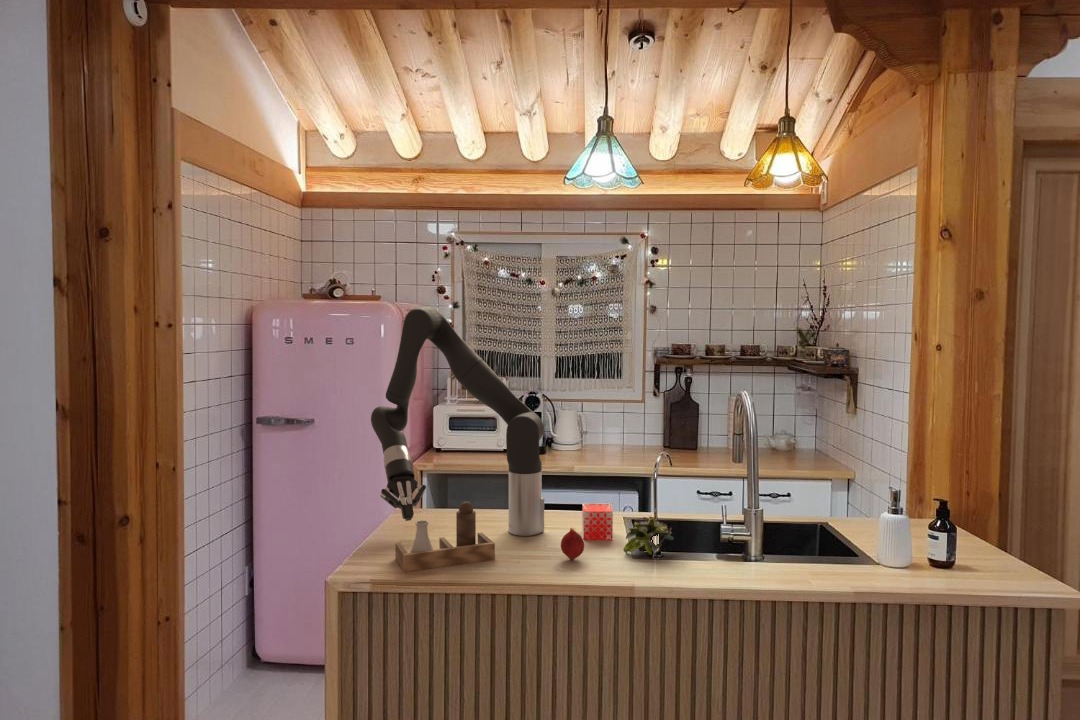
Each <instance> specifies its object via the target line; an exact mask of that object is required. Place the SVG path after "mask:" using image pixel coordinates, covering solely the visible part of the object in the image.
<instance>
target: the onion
mask: <svg viewBox="0 0 1080 720" xmlns="http://www.w3.org/2000/svg"><path fill="white" fill-rule="evenodd" d="M584 541H585V540H583V536H581V535H580V533H579V532H577V531H576V530H575V529H574V528H573V527H570V529H569V531H567V533H566V534H564V535H563V537H562V539H561V542H560V550H561V552H562V553H563V554H564V555H565V556H566V557H567V558H568V559H569V560H571V561H574V560H575V559H576V558H579V557H580V556H581V555H582V554H583V553H584V550H585V542H584Z"/></svg>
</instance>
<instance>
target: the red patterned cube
mask: <svg viewBox="0 0 1080 720" xmlns="http://www.w3.org/2000/svg"><path fill="white" fill-rule="evenodd" d="M581 509H582V518H581V519H582V520H581V522H582V523H581V524H582V527H581V530H582V539H583V541H613V536H614V534H613V533H614V531H613V530H614V529H613V528H614V527H613V526H614V525H613V524H614V521H613V520H614V512H613V507H612V505H611V503H582V508H581Z"/></svg>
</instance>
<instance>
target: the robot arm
mask: <svg viewBox="0 0 1080 720" xmlns="http://www.w3.org/2000/svg"><path fill="white" fill-rule="evenodd" d="M401 329H402V330H401V337H400V342H399V348H398V352H397V356H396V361H395V364H394V368H393V370H392V371H393V372H392V374H391V376H390V381H389V383H388V386H387V388H386V392H385V399H386V400H387V401H388V402H390V403H392V404H394V405H396V407H391V406H390V407H389V406H377V407H375V408H374V409H373V410H372V412H371V415H370V424H371V427H372V428H373V431H374V433H375V435H376V436H377V438H378V441H379V442H380V444H381V448H382V454H383V463H384V470H385V474H386V475H385V476H386V481H387V484H386V488H382V489H381V491H380V495H379V497H380V498H382V499H383V500H384V501H385V502H386V503H387V504H389V505H390V506H391V507H392V508H394V509H397V508H398V509H400V510H401V517H402V519H403V520H404V521H405V522H408V521H412V519H413V517H414V514H415V513H414V509H413V508H414V507H416V506H418V503H419V502H420V500H421V499H422V497H423V495H424V494H425V493H426V489H427V486H426V484H423V485H421V484H419V483H418V480H417V478H416V476H415V472H414V468H413V463H412V458H411V454H410V451H409V448H408V447H409V446H408V444H407V443H408V442H407V439H406V436H405V434H404V433H403V432H402V431H403V430H404V429H405V428H406V427H407V424H408V418H409V416H408V415H409V414H408V413H409V403H410V398H411V395H412V392H413V390H414V386H415V383H416V380H417V373H418V370H417V369H418V359H419V355H420V353H421V349H422V348H423V345H424V343H425V342H426V340H429V341H430V342H431V343H432V344H434V345H435V347H437V348H438V349H439V351H440V352H441V353H442V354H443V356H444V358H445V359H446V361H447V364H448V365H449V368H450V370H451V373H452V375H453V376H454V378H455V380H456V381H458V383H459V384H460V385H461V386H462V387H463V388H464V389H465V390H466V391H467V392H468V393H469V394H470V395H471V396H472V397H473V398H475V399H476V400H477V401H479V402H480V403H482V404H483V405H485V406H486V407H489V408H490V409H491V410H493V411H494V412H495V413H496V414H498V416H499V417H500V418H501V419H502V420H503V421H504V423H505V424H506V425H507V427H506V435H505V437H506V438H505V439H506V440H505V441H506V444H505V445H506V447H505V448H506V449H505V450H506V461H507V464H508V532H509V533H510V534H512V535H514V536H522V537H526V536H527V537H528V536H529V537H530V536H536V535H539V534H541V533H544V532H545V498H544V497H543V496H542V493H543V492H542V491H543V490H542V488H543V487H542V481H543V480H542V479H543V478H542V475H543V474H542V473H543V472H542V470H543V469H542V465H543V462H542V461H541V458H540V440H541V439H542V437H543V436H544V432H545V428H544V427H545V426H544V423H543V420H542V419H541V418H540V416H539V415H538V414H537V413H535V412H534V411H533V410H532V409H530V408H529V407H528V406H527V405H526V403H524V402H523V401H521V400H520V399H519V398H518V397H517V396H516V395H515V394H514V393H513V392H512V390H511V389H510V388H509V387H508V386H507V385H506V384H505V383H504V381H502V379H501V378H500V377H499V375H497V374H496V372H495V371H494V370H493V368H491V367H490V366H489V365H488V364H487V363H486V362H485V361H484V360H483V358H482V357H481V356H479V354H477V353H476V352H475V350H473V349H472V347H471V346H470V345H468V343H467V342H466V341H465V340H464V339H463V338H462V337H461V336H460V335H459V334H458V332H457V331H456V330H455V329H454V327H453V326H452V325H451V324H450V322H449V321H448V320H447V319H446V317H445V316H444V314H443V313H441V311H440V310H438V309H437V308H436V307H433V306H430V305H429V306H428V305H425V306H420V307H416V308H413V309H411V310H409V311H408V312H407V313H406V315H405V317H404V320H403V324H402V328H401ZM415 491H416V495H415V497H414V498H412V497H413V496H412V495H413V494H414V493H415Z"/></svg>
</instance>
